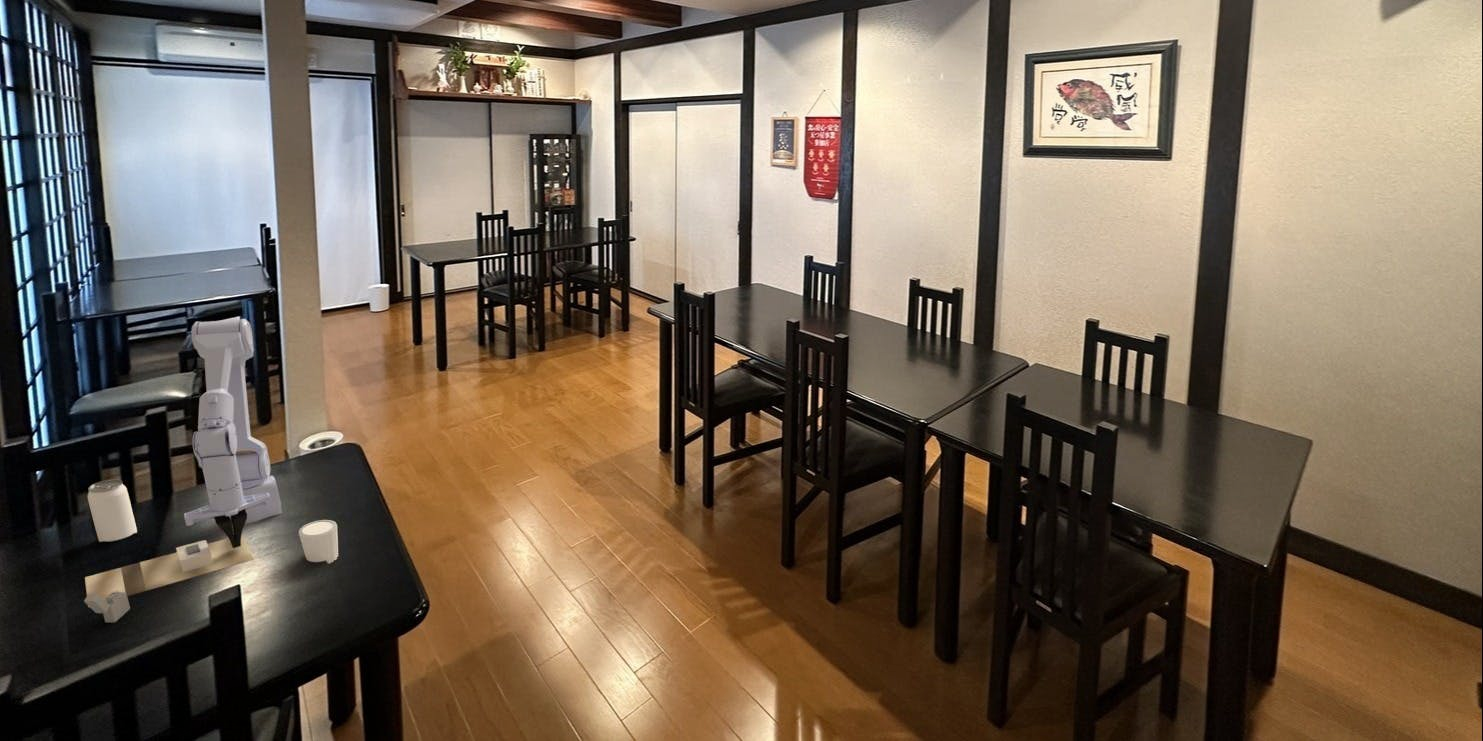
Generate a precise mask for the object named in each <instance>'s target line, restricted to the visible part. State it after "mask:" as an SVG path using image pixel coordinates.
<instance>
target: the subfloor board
mask: <svg viewBox="0 0 1483 741" xmlns="http://www.w3.org/2000/svg"><path fill="white" fill-rule="evenodd" d="M207 544H208V547H209V549H210V552H211V556H212V561H213V564H210V565H206V566H203V567H199V568H196V569H193V570H189V571H186V572H182V568H181V565H180V562H179V559H178V554H177V551H176V552H173V553H169V554H165V555H162V556H158V557H155V558H151V559H148V560H143V561H139V562H136V563H132V564H129V565H125V566H122V567H121V566H120V567H119V568H118V567H117V568H115V569H110V570H106V571H103V572H99V573H96V574H93V575H89V576H85V577H84V581H85V582H84V583H85V590H86V596H87V595H88V594H99V595H100V596H101V597H102V598H103V599H104V600H105V601H107V600H106V597H107V596H108V595H109V594H111V593H112V592H116V591H118V592H126V594H127V597H131V596H133V595H134V596H135V595H136V594H140V593H143V592H146V591H151V590H153V589H157V588H161V587H164V586H167V585H172V584H175V583H178V582H181V581H182V582H183V581H185V580H188V579H191V578H192V579H193V578H195V577H199V576H201V575H206V574H208V573H212V572H215V571H218V570H223V569H227V568H229V567H233V566H236V565H240V564H243V563H247V562H250V561H253V560H255V558H254V556H253V554H252V552H251V550H250V548H249V546H248V543H247V541H246V540H245V538H244V535H243V534H242V535H241V546H240V547H236V548H233V547H232V545H231V542H230V540H229V538H228V537H227V538H223V539H221V540H218V541H213V542H209V543H207ZM87 608H90V607H89V606H88V605H87Z"/></svg>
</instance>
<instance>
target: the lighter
mask: <svg viewBox="0 0 1483 741" xmlns="http://www.w3.org/2000/svg"><path fill="white" fill-rule="evenodd" d="M106 600H107V601H105V600H104V599H103V598H102V597H101V596H100V595H99V594H88V595H87V594H86V597H85V598H84V600H83V602H84V603H85V604H86V605H87V607H88V606H89V608H90V609H91V610H93V612H95V614H103V618H104V622H105V623H116V622H117V621H119V619H121V618H122V617H123V616H124V615H125V614H126V613H127V612H128V611H130V609H131V606H130V602H129V598H128V596H127V594H126V592H118V591H116V592H112V593H111V594H109V595H108V596H107V597H106Z"/></svg>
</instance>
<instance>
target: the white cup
mask: <svg viewBox="0 0 1483 741" xmlns="http://www.w3.org/2000/svg"><path fill="white" fill-rule="evenodd" d="M298 536H299V539H300V542H301V545H302V549H303V552H304V556H305V559H306V560H307V561H309V562H311V563H312V562H313V563H320V562H326V563H327V564H328V565H329V564H332V563H334V562H335V561H336V560H337V559H338V558H337V557H339V540H338V539H339V538H338V524H337V523H336V521H334V520H330V519H321V520H315V521H311V522H309V523H306V524H304V525H303V526H301V527H300V528H299V530H298ZM334 560H335V561H334Z"/></svg>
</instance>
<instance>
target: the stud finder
mask: <svg viewBox="0 0 1483 741" xmlns="http://www.w3.org/2000/svg"><path fill="white" fill-rule="evenodd" d="M208 544H209V543H208V541H207V540H206V539H205V540H204V539H203V540H199V541H196V542H193V543H188V544H184V545H181V546H177V547H175V550H176V552H177V554H178V559H179V562H180V565H181V568H182V572H186V571H189V570H193V569H196V568H199V567H203V566H206V565H210V564H213V561H212V556H211V552H210V549H209V547H208Z"/></svg>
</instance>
